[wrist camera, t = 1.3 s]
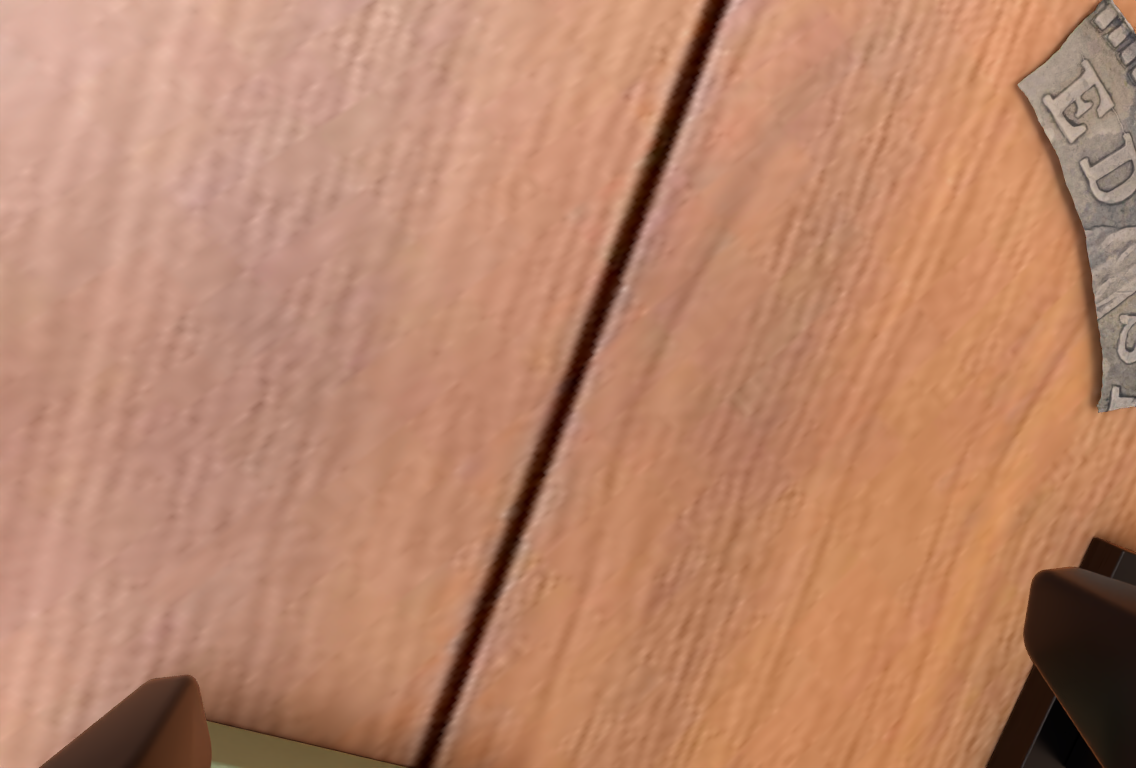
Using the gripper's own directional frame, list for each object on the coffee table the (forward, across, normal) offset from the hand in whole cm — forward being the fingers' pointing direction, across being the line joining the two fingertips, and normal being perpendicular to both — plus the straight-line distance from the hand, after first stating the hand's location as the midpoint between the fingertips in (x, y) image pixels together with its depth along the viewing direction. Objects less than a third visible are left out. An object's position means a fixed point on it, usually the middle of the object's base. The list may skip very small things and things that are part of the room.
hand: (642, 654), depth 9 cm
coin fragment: (+16, -18, -1) cm, 24 cm away
